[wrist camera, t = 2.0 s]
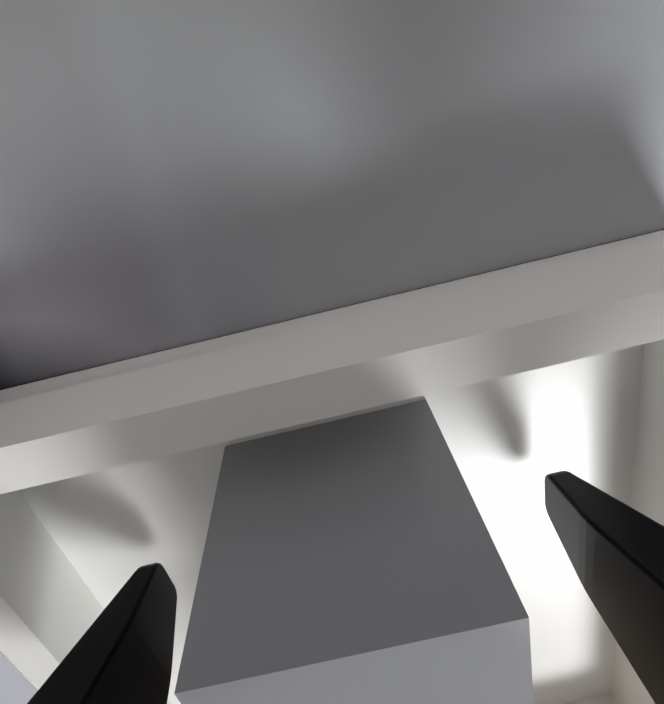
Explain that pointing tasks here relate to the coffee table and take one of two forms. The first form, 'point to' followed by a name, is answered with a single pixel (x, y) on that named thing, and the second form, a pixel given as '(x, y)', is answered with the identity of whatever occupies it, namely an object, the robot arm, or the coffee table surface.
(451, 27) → the coffee table surface
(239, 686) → the grey block
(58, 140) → the coffee table surface
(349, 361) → the tray
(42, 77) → the coffee table surface
